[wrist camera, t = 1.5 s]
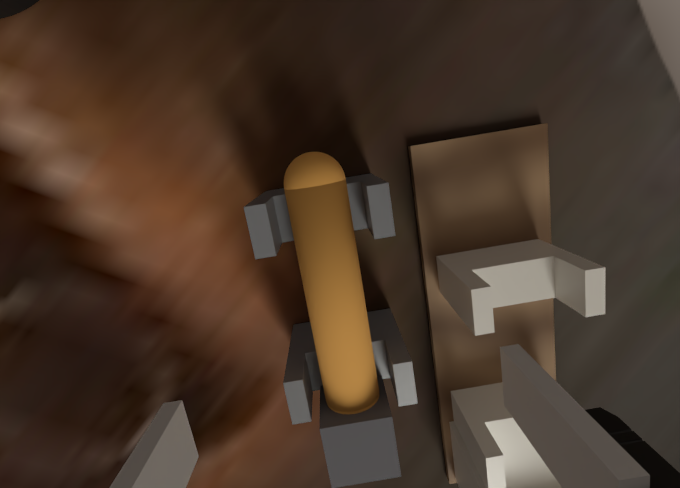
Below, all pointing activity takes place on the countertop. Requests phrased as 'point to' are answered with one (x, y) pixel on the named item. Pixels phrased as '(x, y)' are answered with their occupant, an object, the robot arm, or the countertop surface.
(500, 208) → the clip rail
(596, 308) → the clips
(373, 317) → the grey cradle stand
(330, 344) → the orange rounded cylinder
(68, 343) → the countertop surface
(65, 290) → the countertop surface
